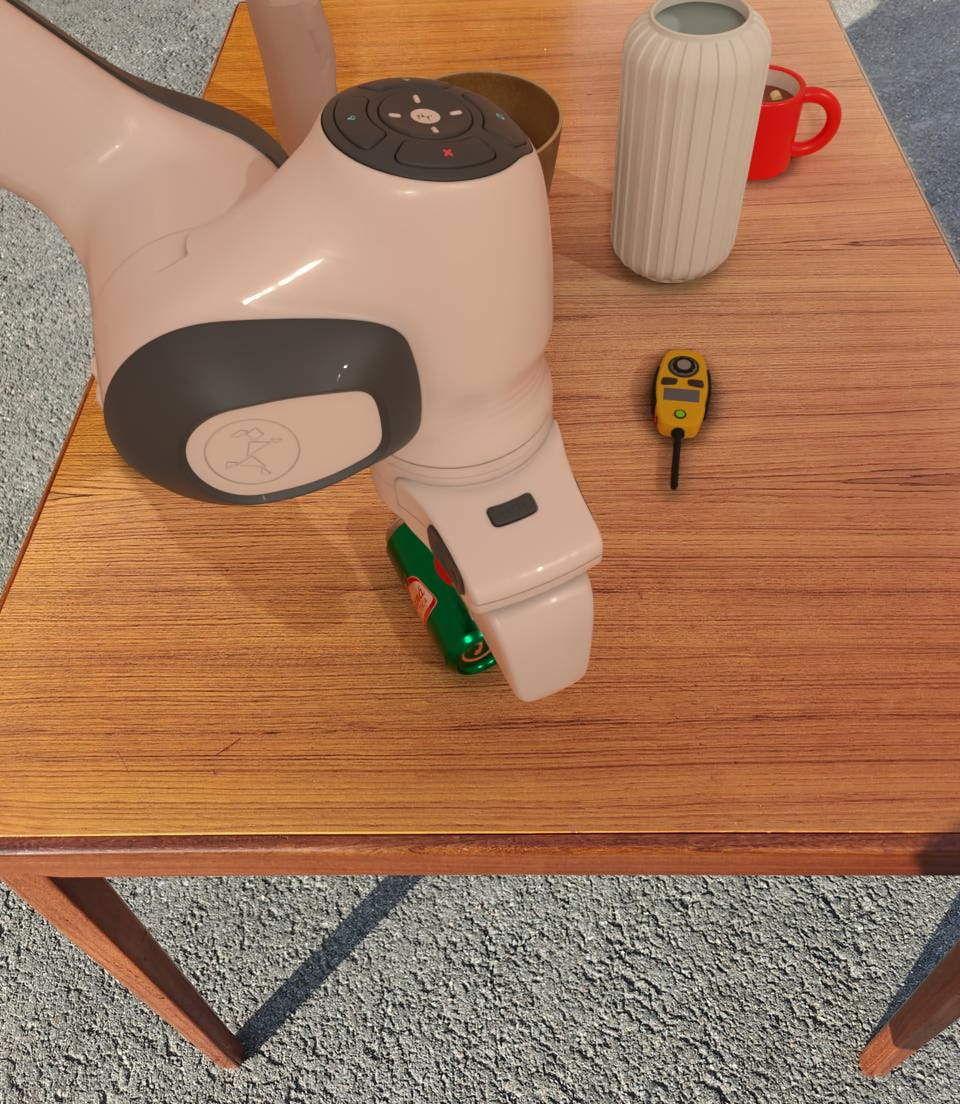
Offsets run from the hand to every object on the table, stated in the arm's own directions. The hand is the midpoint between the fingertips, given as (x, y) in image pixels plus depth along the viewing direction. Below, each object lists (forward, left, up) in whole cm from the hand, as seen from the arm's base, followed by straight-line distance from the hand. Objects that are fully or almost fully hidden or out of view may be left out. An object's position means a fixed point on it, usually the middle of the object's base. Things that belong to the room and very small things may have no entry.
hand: (475, 598), depth 55 cm
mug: (+53, +42, -10) cm, 68 cm away
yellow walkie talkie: (+24, +14, -10) cm, 30 cm away
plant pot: (+18, +39, -10) cm, 44 cm away
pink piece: (+14, +66, -10) cm, 68 cm away
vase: (+35, +33, -10) cm, 49 cm away
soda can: (0, 0, -8) cm, 8 cm away
